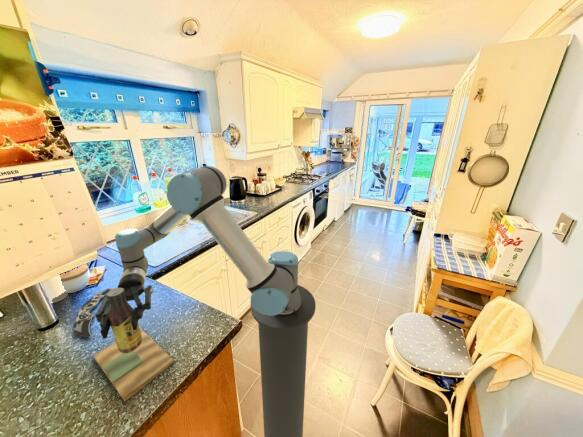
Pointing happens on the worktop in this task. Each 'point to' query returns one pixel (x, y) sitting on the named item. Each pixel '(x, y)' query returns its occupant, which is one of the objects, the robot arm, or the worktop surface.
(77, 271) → the lidded bowl
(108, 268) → the worktop surface
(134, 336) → the sauce bottle
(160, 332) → the worktop surface
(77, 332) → the knife
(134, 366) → the chopping board
